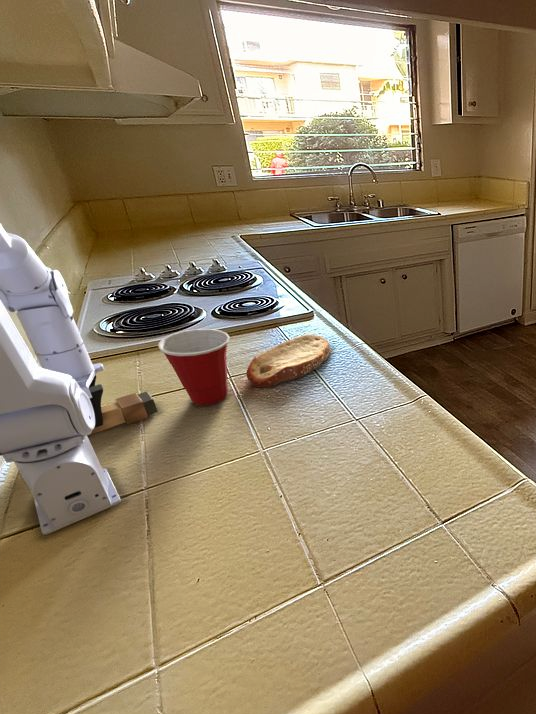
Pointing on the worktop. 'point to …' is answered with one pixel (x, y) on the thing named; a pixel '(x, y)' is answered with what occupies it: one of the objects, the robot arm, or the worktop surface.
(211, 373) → the plastic cup
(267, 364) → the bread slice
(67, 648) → the worktop surface
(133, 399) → the brush
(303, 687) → the worktop surface
